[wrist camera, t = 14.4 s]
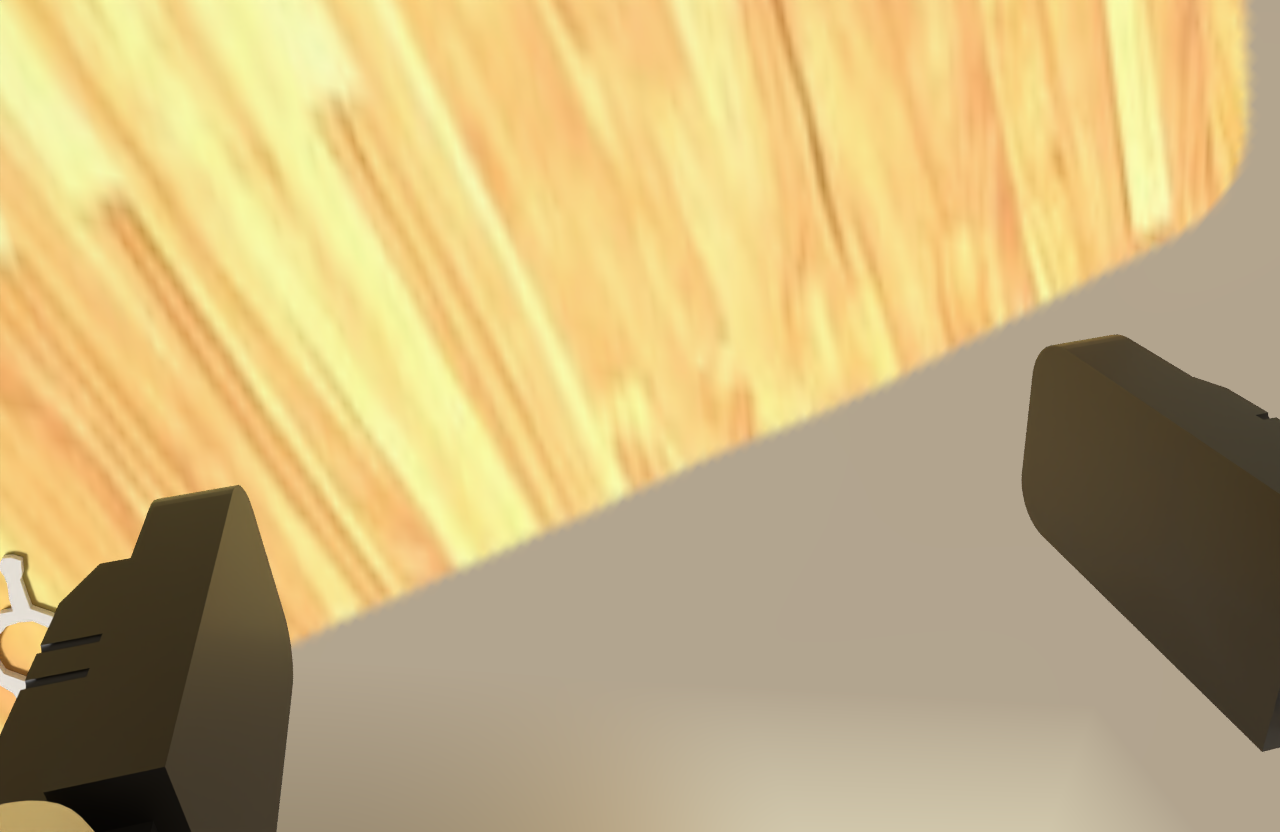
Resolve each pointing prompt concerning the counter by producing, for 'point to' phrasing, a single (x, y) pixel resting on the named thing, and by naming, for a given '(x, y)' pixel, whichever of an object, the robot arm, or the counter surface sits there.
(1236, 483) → the robot arm
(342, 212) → the counter surface
